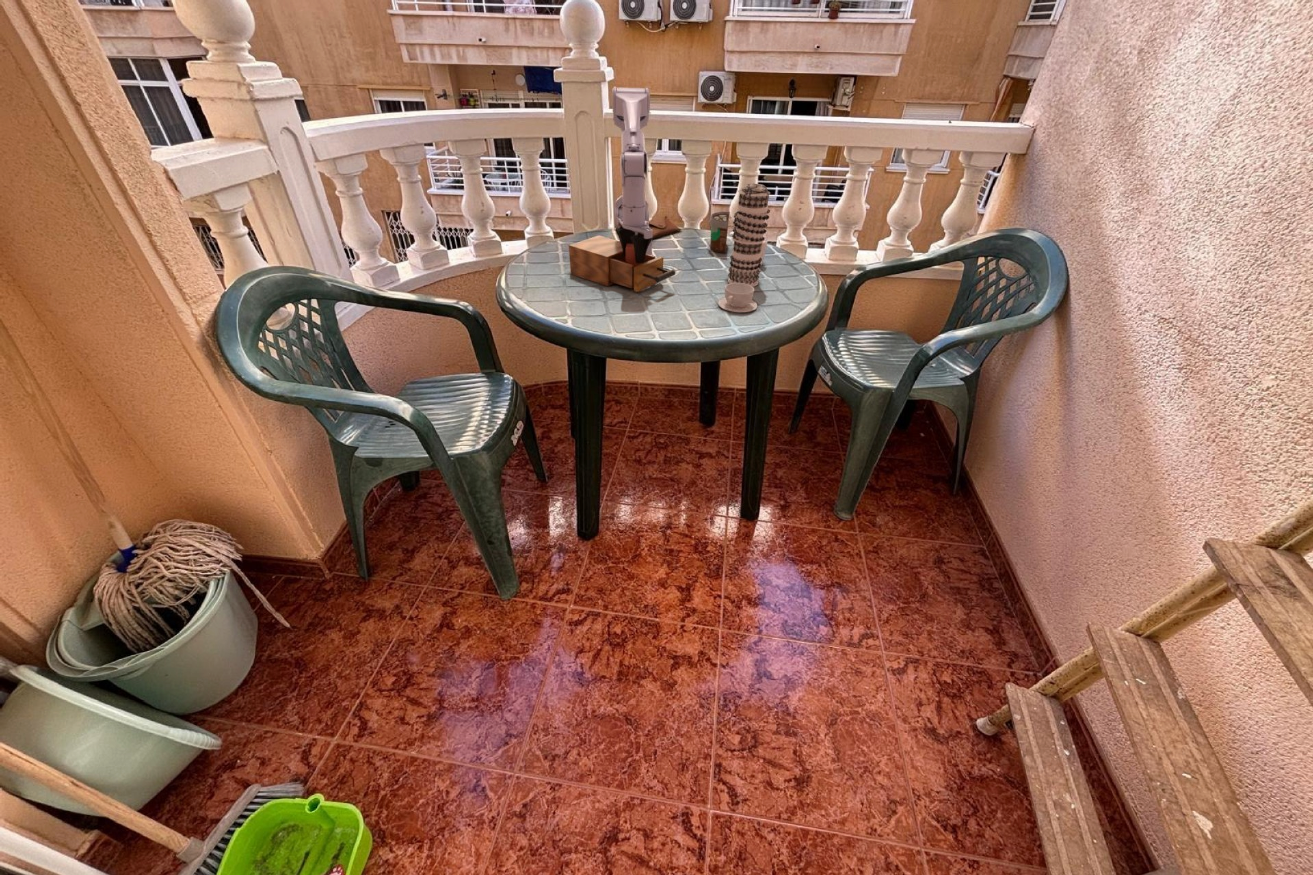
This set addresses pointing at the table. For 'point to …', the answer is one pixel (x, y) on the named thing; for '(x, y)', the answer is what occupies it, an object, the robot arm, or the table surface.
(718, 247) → the food container
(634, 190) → the robot arm
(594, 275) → the cabinet
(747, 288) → the teacup
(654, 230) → the sunglasses case
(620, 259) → the drawer
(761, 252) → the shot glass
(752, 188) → the decorative candle
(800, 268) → the table surface
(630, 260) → the block
